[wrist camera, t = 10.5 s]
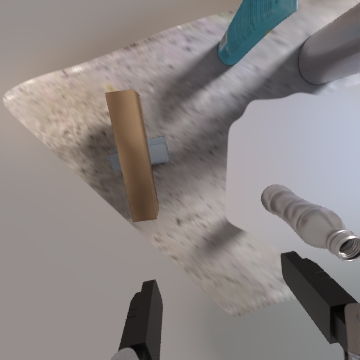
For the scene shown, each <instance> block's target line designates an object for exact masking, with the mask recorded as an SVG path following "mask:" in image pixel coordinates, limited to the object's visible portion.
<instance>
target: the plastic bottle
mask: <svg viewBox="0 0 360 360" xmlns="http://www.w3.org/2000/svg"><path fill="white" fill-rule="evenodd" d="M261 201H262V204H263V206H264V207H265V209H266V210H268V211H269V212H271V213H272V214H274V215H277V216H278V217H280V218H282V219H283V220H284V221H286V223H287V224H289V226H291V227H292V229H293V230H294V231H295V232H296V233H297V235H298V236H299V237H300V238H301V239H302V240H303V241H304V242H305V243H307V244H309V245H311V246H313V247H317V248H323V249H328V250H329V251H330V252H331V253H332V254H334V255H336V256H337V257H339V258H340V259H342V260H343V261H354V260H356V259H358V258H360V238H359V237H358V236H356V235H354V233H352V232H351V231H349V230H347V229H345V226H344V224H343V221H342V219H341V218H340V217H339V216H338V215H337V214H336V213H335V212H334V211H332V210H329V209H327V208H325V207H322V206H319V205H315V204H313V203H310V202H308V201H306V200H304V199H301V198H299V197H298V196H297V195H295V194H294V193H293V192H292V191H291V190H290V189H289V188H287V187H285V186H282V185H278V184H277V185H276V184H275V185H271V186H269V187H267V188H266V189H265V190H264V191H263V193H262V196H261Z"/></svg>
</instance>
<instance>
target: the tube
mask: <svg viewBox="0 0 360 360" xmlns="http://www.w3.org/2000/svg"><path fill="white" fill-rule="evenodd" d="M297 8H298V0H243V2H242V4H241V5H240V7H239V9H238V11H237V13H236V15H235V16H234V18H233V20H232V22H231V24H230V25H229V27H228V29H227V31H226V33H225V34H224V36H223V38H222V40H221V42H220V44H219V47H218V55H219V58H220V60H221V61H222V62H223V63H224V64H227V65H234V64H236V63H237V62H239V61H240V60H241V59H242V58H243V57H244V56H245V55H246V54H247V53H248V52H249V51H250V50H251V49H252V48H253V47H254V46H255V45H256V44H257V43H258V42H259V41H260V40H261V39H262V38H263V37H264V36H266V35H267V34H268V33H269V32H270V31H271V30H272V29H273V28H275V27H276V26H277V25H278V24H279V23H281V22H282V21H283V20H285V19H286V18H287V17H289V16H290V15H291V14H292V13H294V12H296V11H297Z"/></svg>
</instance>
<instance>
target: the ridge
mask: <svg viewBox="0 0 360 360" xmlns="http://www.w3.org/2000/svg"><path fill="white" fill-rule="evenodd" d="M147 142H148V148H149V154H150V159H151V165H157V164H161V163H165V162H170V157H169V153H168V149H167V145H166V140H165V136H162V137H158V138H154V139H149V140H147ZM114 151H115V153H114V154H112V155H110V156H108V157H109V160H110V163H111V166H112V169H113V172H117V171H121V173H122V169H121V165H120V160H119V155H118V151H117V147H116V148H114Z"/></svg>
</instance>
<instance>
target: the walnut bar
mask: <svg viewBox="0 0 360 360" xmlns="http://www.w3.org/2000/svg"><path fill="white" fill-rule="evenodd" d="M105 95H106V100H107V105H108V109H109V114H110V118H111V123H112V128H113V132H114V137H115V142H116V146H117V151H118V155H119V160H120V165H121V169H122V174H123V178H124V183H125V188H126V192H127V197H128V201H129V206H130V211H131V215H132V220H133V222H138V221H146V220H153V219H157V215H158V210H159V206H158V200H157V194H156V189H155V183H154V177H153V171H152V165H151V159H150V154H149V148H148V142H147V136H146V130H145V124H144V118H143V113H142V107H141V101H140V95H139V94H138V93H137V92H136V91H135V90H134V89H131V90H123V91H116V92H108V93H105Z"/></svg>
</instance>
